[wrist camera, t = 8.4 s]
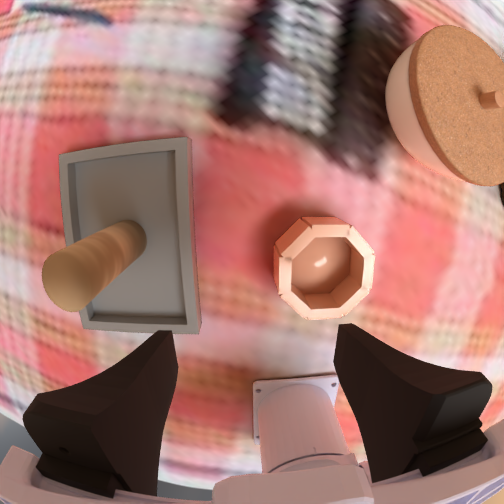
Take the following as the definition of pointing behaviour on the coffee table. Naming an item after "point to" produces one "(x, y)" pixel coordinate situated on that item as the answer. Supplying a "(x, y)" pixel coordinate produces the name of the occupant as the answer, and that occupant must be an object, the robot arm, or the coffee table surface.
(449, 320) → the coffee table surface
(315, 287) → the cup
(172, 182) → the tray
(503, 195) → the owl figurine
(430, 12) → the coffee table surface
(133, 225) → the dowel
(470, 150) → the lidded jar
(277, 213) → the coffee table surface
